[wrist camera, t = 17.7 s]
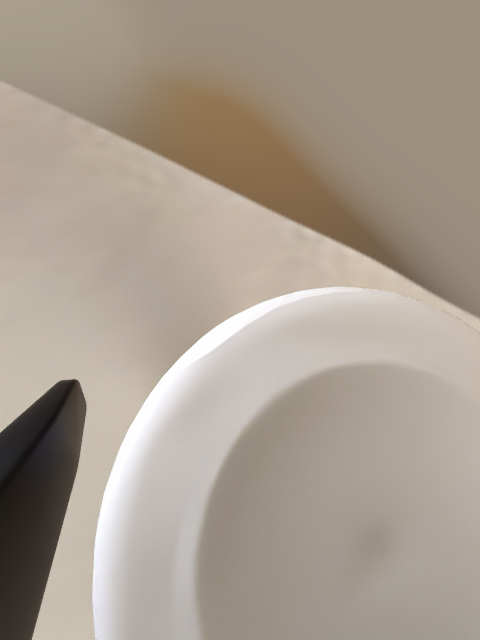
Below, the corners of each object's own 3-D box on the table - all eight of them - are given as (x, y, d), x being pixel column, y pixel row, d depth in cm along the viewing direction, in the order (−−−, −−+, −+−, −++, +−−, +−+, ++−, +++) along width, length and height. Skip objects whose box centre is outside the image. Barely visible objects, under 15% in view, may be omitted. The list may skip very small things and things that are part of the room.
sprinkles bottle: (176, 370, 16) (84, 273, 3) (267, 365, 16) (563, 268, 3) (178, 471, 15) (51, 1134, 2) (275, 462, 15) (737, 873, 2)
